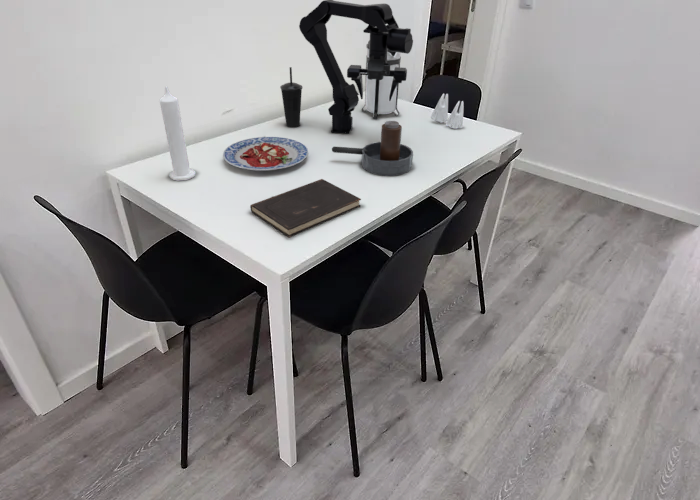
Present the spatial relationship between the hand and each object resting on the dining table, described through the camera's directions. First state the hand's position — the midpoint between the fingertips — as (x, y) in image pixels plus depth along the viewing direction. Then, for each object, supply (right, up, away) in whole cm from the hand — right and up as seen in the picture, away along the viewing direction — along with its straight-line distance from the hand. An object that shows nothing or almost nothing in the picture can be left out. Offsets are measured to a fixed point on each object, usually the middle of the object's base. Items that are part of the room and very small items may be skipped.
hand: (375, 99), depth 159 cm
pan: (+3, -23, -12) cm, 26 cm away
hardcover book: (-20, -39, -35) cm, 56 cm away
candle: (-56, -28, -20) cm, 66 cm away
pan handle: (-9, -20, -12) cm, 25 cm away
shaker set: (+27, -3, +20) cm, 34 cm away
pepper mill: (+3, -24, -13) cm, 27 cm away
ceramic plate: (-34, -21, -9) cm, 41 cm away
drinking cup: (-29, -4, +16) cm, 34 cm away
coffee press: (+2, +4, +30) cm, 30 cm away
